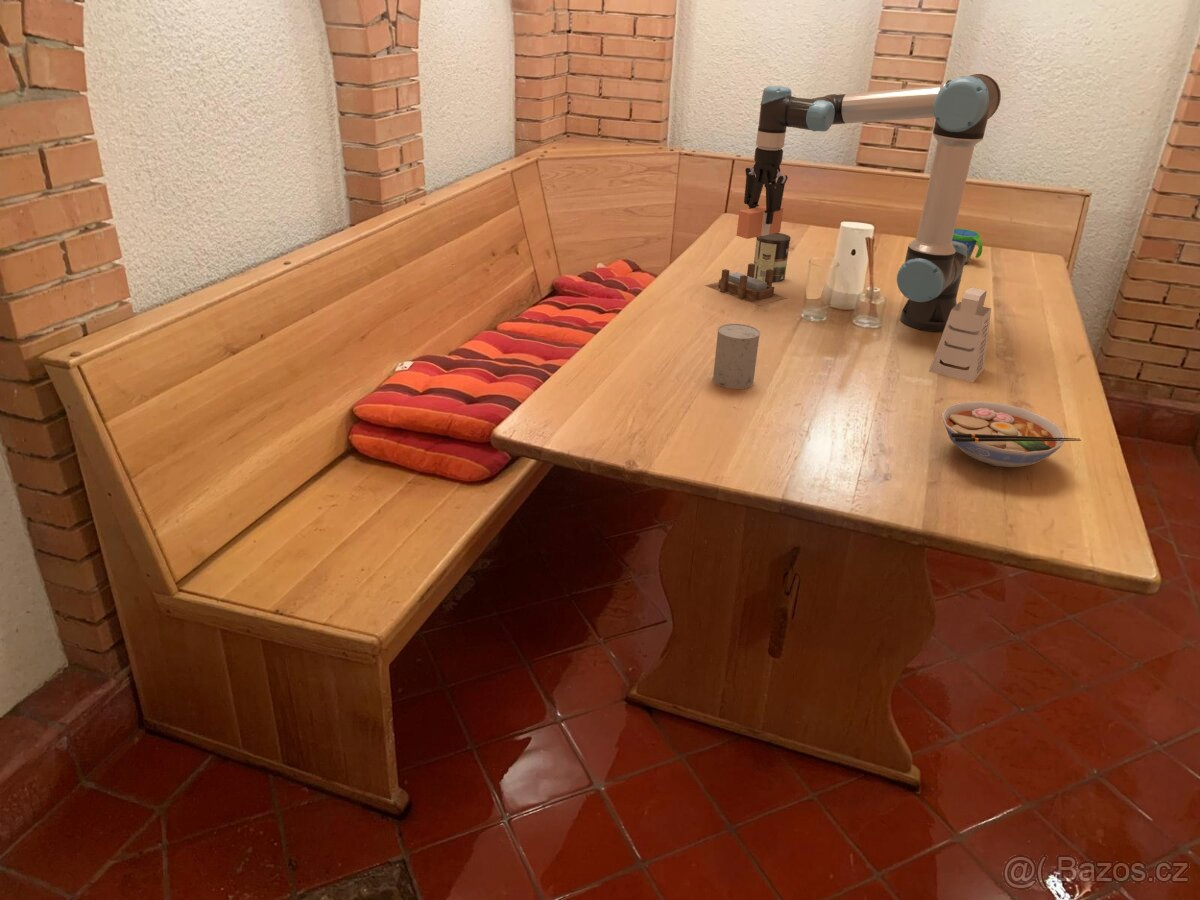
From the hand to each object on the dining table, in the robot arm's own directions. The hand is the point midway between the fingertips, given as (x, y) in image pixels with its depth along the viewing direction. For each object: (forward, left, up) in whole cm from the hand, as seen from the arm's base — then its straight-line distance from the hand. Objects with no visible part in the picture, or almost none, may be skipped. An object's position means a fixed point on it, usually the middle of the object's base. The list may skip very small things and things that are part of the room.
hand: (758, 232), depth 258 cm
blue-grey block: (+2, 0, -18) cm, 18 cm away
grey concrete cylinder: (-40, +50, -19) cm, 67 cm away
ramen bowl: (-97, +35, -19) cm, 105 cm away
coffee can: (+8, -17, -19) cm, 27 cm away
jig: (+2, 0, -19) cm, 19 cm away
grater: (-67, -1, -19) cm, 69 cm away
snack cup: (-12, -91, -19) cm, 93 cm away
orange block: (0, 0, 0) cm, 0 cm away
